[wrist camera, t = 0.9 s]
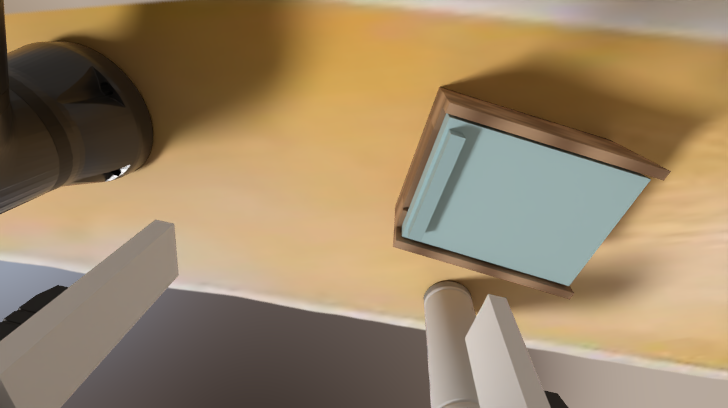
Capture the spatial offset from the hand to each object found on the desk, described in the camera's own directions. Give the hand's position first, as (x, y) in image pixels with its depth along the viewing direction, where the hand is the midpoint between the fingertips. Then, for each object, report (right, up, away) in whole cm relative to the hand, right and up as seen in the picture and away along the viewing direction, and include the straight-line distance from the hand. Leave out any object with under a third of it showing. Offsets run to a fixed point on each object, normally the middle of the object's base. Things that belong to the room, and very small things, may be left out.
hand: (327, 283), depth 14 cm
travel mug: (+13, -9, +31) cm, 35 cm away
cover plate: (+15, +4, +17) cm, 23 cm away
